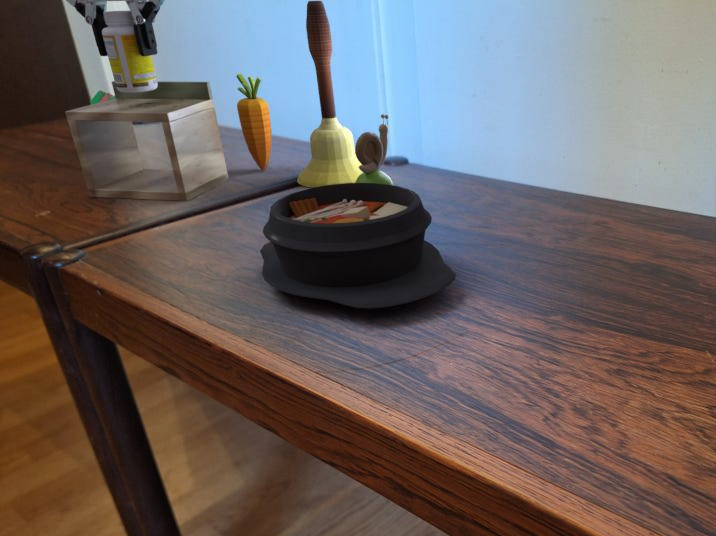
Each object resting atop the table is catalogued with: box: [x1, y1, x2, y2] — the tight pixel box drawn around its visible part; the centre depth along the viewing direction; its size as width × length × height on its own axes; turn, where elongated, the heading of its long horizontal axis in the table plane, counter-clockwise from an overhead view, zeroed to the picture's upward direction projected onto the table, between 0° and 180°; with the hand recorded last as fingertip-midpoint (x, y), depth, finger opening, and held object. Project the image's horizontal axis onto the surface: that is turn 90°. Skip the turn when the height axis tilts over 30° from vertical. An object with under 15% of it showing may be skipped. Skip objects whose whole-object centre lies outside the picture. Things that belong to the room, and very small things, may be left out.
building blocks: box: [90, 89, 144, 124], centre depth 155 cm, size 8×8×12 cm
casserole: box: [259, 183, 457, 310], centre depth 72 cm, size 25×19×8 cm
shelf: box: [64, 80, 229, 202], centre depth 104 cm, size 16×12×15 cm
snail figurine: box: [354, 113, 395, 186], centre depth 93 cm, size 5×6×12 cm
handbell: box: [296, 0, 363, 188], centre depth 105 cm, size 12×12×25 cm
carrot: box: [236, 73, 272, 172], centre depth 112 cm, size 5×5×15 cm
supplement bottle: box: [102, 10, 158, 93], centre depth 98 cm, size 6×6×10 cm
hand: (128, 53), depth 98 cm, fingers closed on supplement bottle, 5 cm apart
